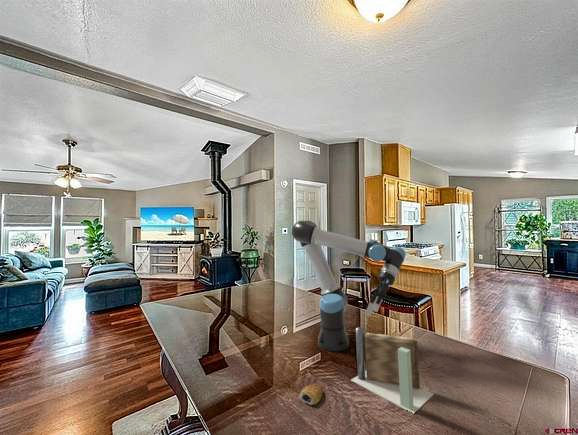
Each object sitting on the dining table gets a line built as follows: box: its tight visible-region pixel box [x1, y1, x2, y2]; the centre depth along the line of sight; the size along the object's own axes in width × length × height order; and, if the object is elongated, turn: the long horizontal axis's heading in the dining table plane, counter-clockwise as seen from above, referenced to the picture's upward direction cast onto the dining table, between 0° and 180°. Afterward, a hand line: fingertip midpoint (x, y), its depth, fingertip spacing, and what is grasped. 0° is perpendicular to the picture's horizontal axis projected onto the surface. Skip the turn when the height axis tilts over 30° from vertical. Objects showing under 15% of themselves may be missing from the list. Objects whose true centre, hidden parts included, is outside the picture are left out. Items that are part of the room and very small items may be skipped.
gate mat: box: [350, 370, 435, 415], centre depth 95 cm, size 24×14×1 cm, turn 39°
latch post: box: [398, 347, 413, 410], centre depth 85 cm, size 3×2×18 cm
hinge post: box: [355, 326, 366, 380], centre depth 101 cm, size 3×3×19 cm
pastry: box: [298, 383, 324, 406], centre depth 92 cm, size 9×7×4 cm
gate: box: [364, 332, 421, 389], centre depth 97 cm, size 18×2×17 cm, turn 67°
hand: (370, 313), depth 123 cm, fingers open, 13 cm apart
